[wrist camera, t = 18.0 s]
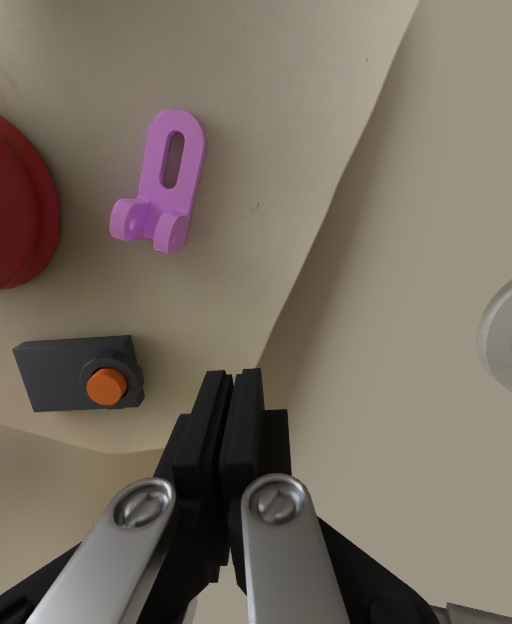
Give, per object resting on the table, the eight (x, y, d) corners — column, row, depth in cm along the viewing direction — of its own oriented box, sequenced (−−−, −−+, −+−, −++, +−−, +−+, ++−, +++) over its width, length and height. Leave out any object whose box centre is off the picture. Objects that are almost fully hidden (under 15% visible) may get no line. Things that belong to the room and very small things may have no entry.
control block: (142, 334, 42) (129, 347, 38) (155, 397, 45) (144, 415, 41) (24, 341, 43) (0, 355, 39) (44, 402, 46) (24, 421, 42)
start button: (123, 366, 39) (116, 373, 38) (130, 396, 41) (124, 404, 39) (90, 368, 40) (82, 375, 38) (98, 397, 41) (91, 406, 39)
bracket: (183, 246, 38) (165, 257, 32) (135, 231, 38) (106, 239, 31) (212, 122, 34) (197, 104, 27) (158, 104, 34) (130, 82, 27)
